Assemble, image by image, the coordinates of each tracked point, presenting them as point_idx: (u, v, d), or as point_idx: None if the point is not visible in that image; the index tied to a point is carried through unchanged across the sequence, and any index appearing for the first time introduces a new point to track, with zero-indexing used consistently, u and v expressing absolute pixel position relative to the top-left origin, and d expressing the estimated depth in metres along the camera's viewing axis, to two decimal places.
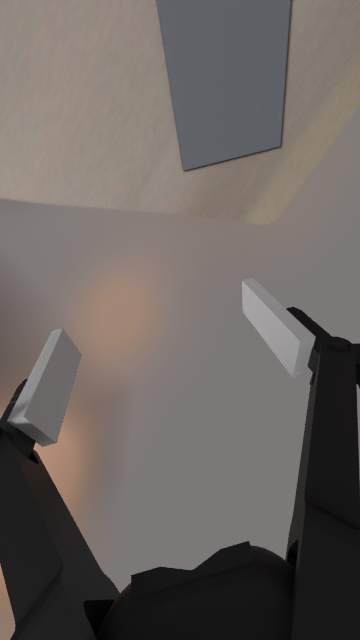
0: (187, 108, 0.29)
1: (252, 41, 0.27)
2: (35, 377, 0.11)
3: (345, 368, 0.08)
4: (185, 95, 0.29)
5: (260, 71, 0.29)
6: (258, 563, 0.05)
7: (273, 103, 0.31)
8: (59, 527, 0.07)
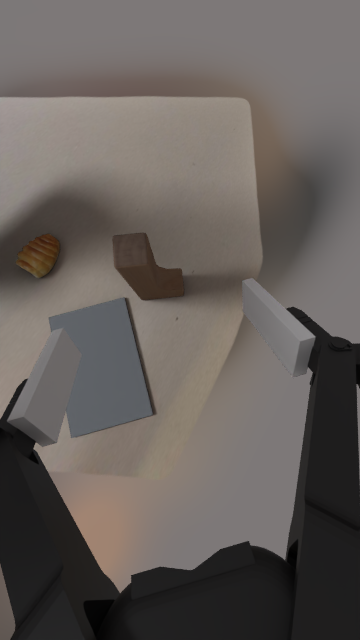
0: (73, 399, 0.41)
1: (115, 363, 0.42)
2: (35, 377, 0.11)
3: (345, 368, 0.08)
4: (72, 392, 0.41)
5: (124, 375, 0.42)
6: (258, 563, 0.05)
7: (138, 390, 0.41)
8: (59, 527, 0.07)
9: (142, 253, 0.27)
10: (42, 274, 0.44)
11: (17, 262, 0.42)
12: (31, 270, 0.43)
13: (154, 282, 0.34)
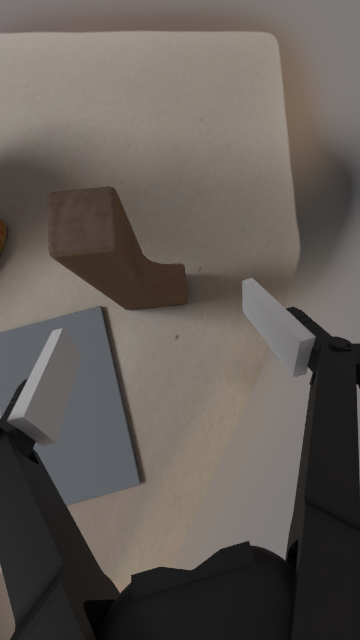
0: None
1: (85, 403, 0.28)
2: (35, 377, 0.11)
3: (345, 368, 0.08)
4: None
5: (98, 422, 0.28)
6: (258, 563, 0.05)
7: (119, 445, 0.28)
8: (59, 527, 0.07)
9: (105, 227, 0.13)
10: None
11: None
12: None
13: (139, 285, 0.20)
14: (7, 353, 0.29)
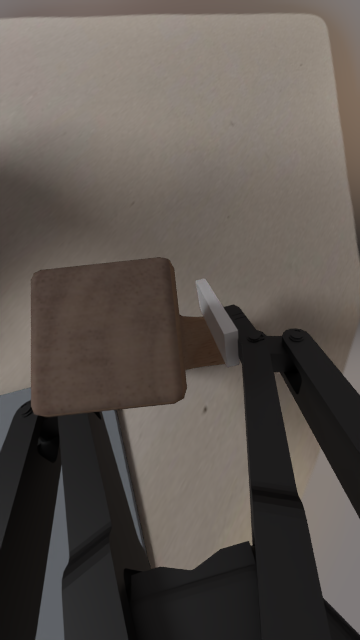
0: None
1: None
2: None
3: (262, 356, 0.10)
4: None
5: None
6: None
7: None
8: (111, 486, 0.07)
9: (157, 352, 0.06)
10: None
11: None
12: None
13: None
14: None
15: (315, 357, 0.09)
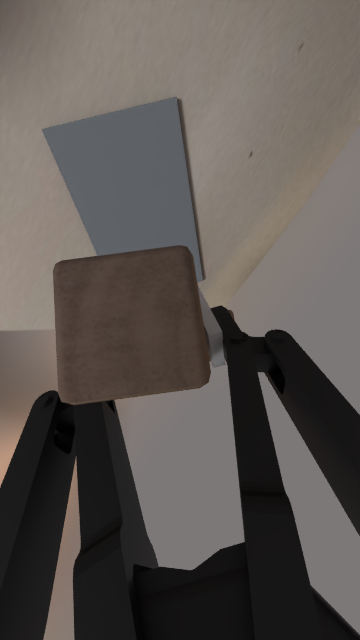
0: None
1: (162, 221, 0.32)
2: None
3: (246, 356, 0.10)
4: None
5: (174, 237, 0.34)
6: None
7: None
8: (122, 480, 0.08)
9: (181, 337, 0.06)
10: None
11: None
12: None
13: None
14: (72, 159, 0.26)
15: (297, 357, 0.09)
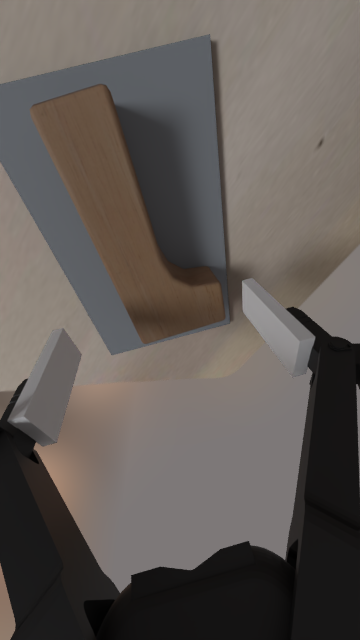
0: (104, 309, 0.23)
1: (176, 247, 0.21)
2: (35, 377, 0.11)
3: (345, 368, 0.08)
4: (98, 299, 0.23)
5: None
6: (258, 563, 0.05)
7: None
8: (59, 527, 0.07)
9: None
10: None
11: None
12: None
13: (148, 228, 0.15)
14: (25, 150, 0.15)
15: None
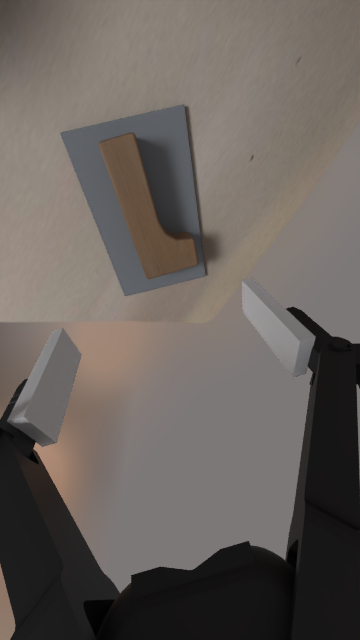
0: (122, 260, 0.37)
1: (168, 219, 0.34)
2: (35, 377, 0.11)
3: (345, 368, 0.08)
4: (119, 253, 0.36)
5: None
6: (258, 563, 0.05)
7: None
8: (59, 527, 0.07)
9: None
10: None
11: None
12: None
13: (151, 202, 0.29)
14: (87, 160, 0.28)
15: None
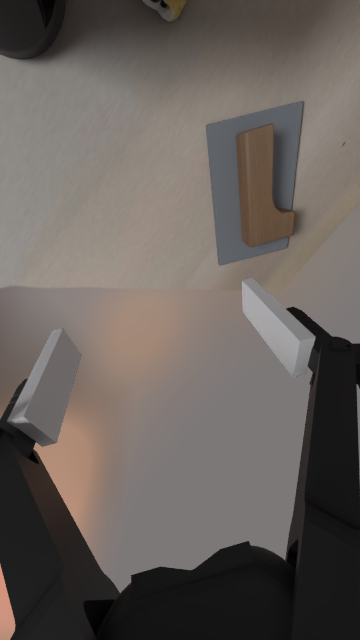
0: (225, 232, 0.44)
1: None
2: (35, 377, 0.11)
3: (345, 368, 0.08)
4: (224, 226, 0.43)
5: None
6: (258, 563, 0.05)
7: None
8: (59, 527, 0.07)
9: None
10: (180, 10, 0.26)
11: None
12: None
13: (272, 180, 0.36)
14: (220, 147, 0.35)
15: None
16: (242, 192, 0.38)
